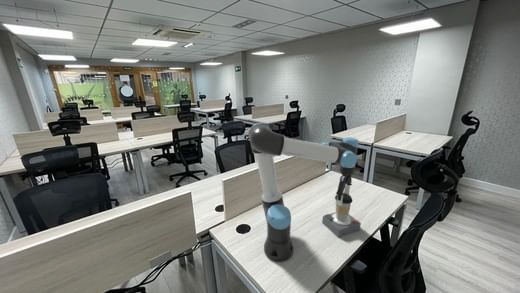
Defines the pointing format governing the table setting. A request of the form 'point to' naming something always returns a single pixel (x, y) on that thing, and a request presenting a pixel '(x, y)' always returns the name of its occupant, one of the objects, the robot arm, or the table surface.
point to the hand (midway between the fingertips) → (342, 199)
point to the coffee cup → (343, 207)
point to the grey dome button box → (341, 225)
